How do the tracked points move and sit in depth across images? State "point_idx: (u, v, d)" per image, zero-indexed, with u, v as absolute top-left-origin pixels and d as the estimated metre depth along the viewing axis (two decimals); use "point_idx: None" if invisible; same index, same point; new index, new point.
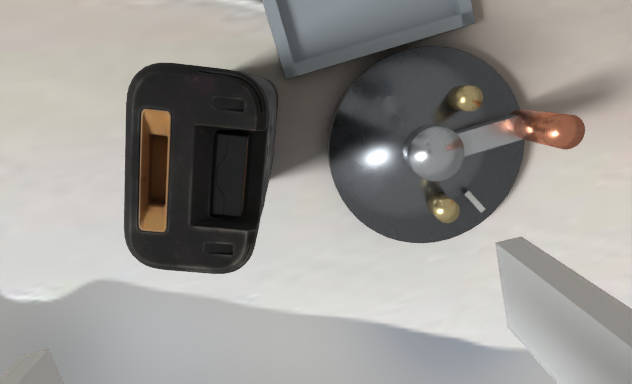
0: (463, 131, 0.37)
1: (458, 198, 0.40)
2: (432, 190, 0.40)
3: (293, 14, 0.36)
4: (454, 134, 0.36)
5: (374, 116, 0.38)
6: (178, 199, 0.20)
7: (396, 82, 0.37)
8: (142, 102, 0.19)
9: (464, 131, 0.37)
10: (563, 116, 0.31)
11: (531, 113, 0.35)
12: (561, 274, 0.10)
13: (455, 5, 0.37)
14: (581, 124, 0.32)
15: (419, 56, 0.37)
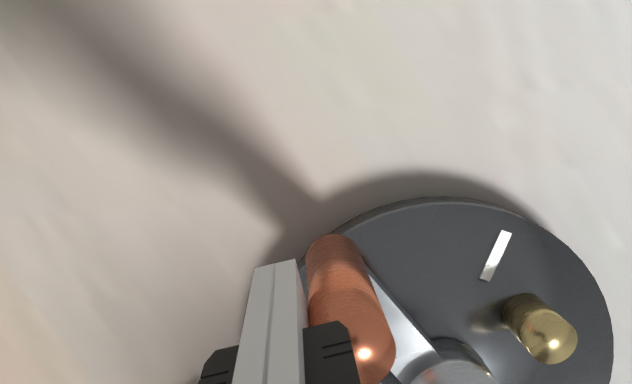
0: None
1: (500, 284, 0.20)
2: (503, 334, 0.21)
3: None
4: None
5: None
6: None
7: None
8: None
9: None
10: None
11: None
12: (285, 293, 0.13)
13: None
14: None
15: None
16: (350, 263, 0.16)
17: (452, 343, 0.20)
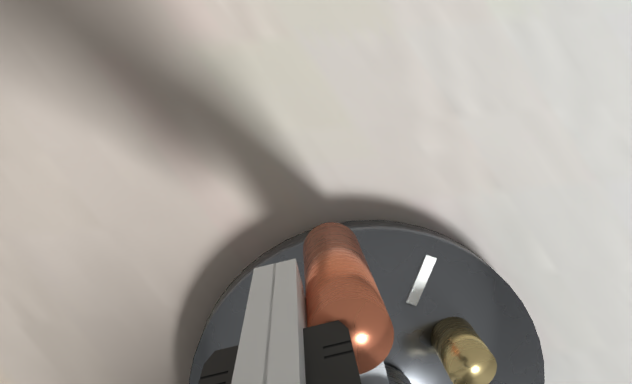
0: None
1: (427, 308, 0.20)
2: (433, 357, 0.21)
3: None
4: None
5: None
6: None
7: None
8: None
9: None
10: None
11: None
12: (286, 293, 0.13)
13: None
14: (333, 306, 0.12)
15: None
16: (360, 256, 0.16)
17: (398, 373, 0.21)
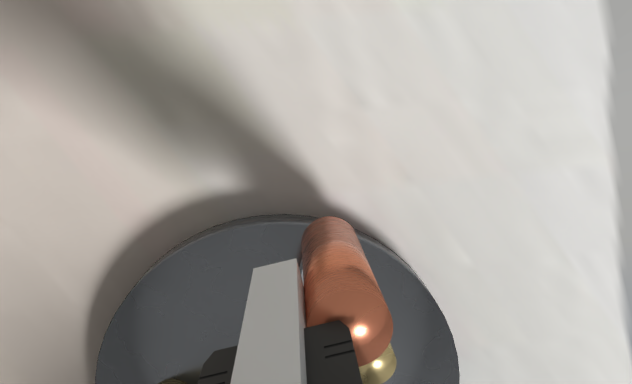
0: None
1: None
2: None
3: None
4: None
5: None
6: None
7: None
8: None
9: None
10: (307, 323, 0.12)
11: (303, 268, 0.16)
12: (287, 293, 0.13)
13: None
14: (352, 294, 0.12)
15: None
16: None
17: None
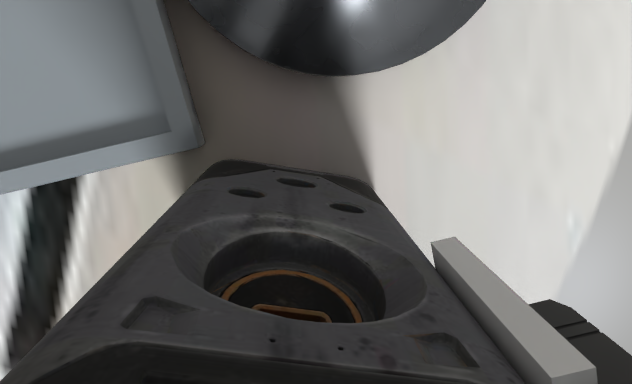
0: None
1: None
2: None
3: (94, 125, 0.22)
4: None
5: None
6: None
7: None
8: None
9: None
10: None
11: None
12: (477, 271, 0.11)
13: None
14: None
15: None
16: None
17: None
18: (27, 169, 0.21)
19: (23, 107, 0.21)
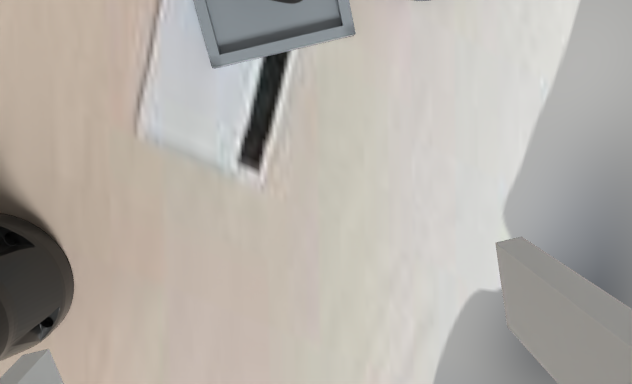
0: None
1: None
2: None
3: (301, 24, 0.43)
4: None
5: None
6: None
7: None
8: None
9: None
10: None
11: None
12: (561, 274, 0.10)
13: None
14: None
15: None
16: None
17: None
18: (271, 44, 0.43)
19: (268, 14, 0.43)
